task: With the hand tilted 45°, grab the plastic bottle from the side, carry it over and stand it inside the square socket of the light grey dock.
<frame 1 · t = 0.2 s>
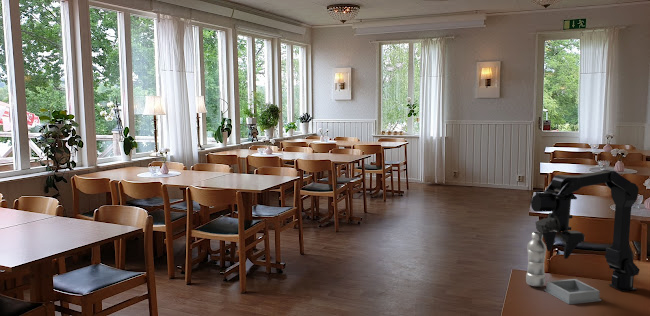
hand: (557, 254, 177), 15 cm above the table, tool pointing down, fingers open, 9 cm apart
bottle dock: (571, 295, 177), on the table
plastic bottle: (535, 286, 186), on the table
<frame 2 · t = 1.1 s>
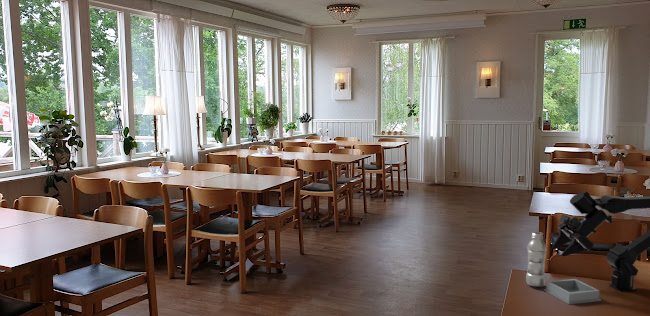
hand: (557, 251, 184), 13 cm above the table, tool tilted 45°, fingers open, 9 cm apart
nothing on the table moved.
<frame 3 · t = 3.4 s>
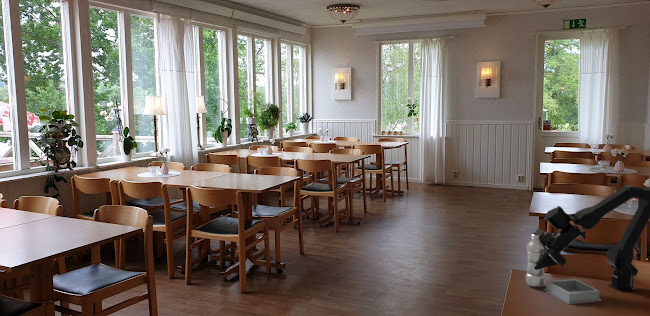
hand: (532, 266, 186), 8 cm above the table, tool tilted 45°, fingers closed on plastic bottle, 6 cm apart
plastic bottle: (535, 286, 186), on the table, touching gripper
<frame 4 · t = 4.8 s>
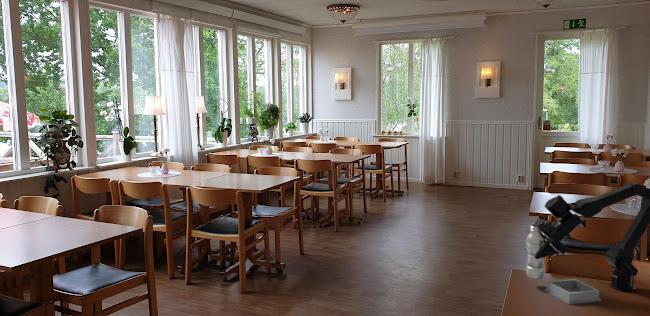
hand: (532, 255, 185), 12 cm above the table, tool tilted 45°, fingers closed on plastic bottle, 6 cm apart
plastic bottle: (535, 278, 186), point 3 cm above the table, touching gripper
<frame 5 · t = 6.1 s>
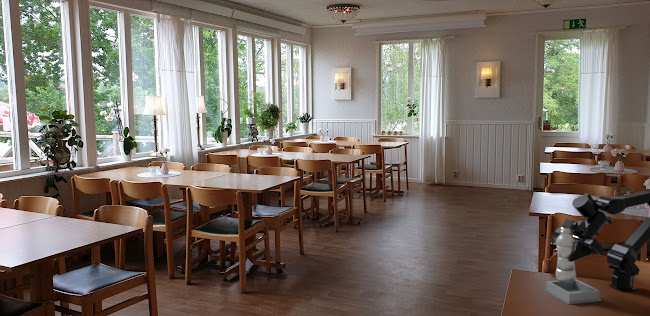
hand: (563, 258, 177), 13 cm above the table, tool tilted 45°, fingers closed on plastic bottle, 6 cm apart
plastic bottle: (565, 282, 178), point 4 cm above the table, touching gripper
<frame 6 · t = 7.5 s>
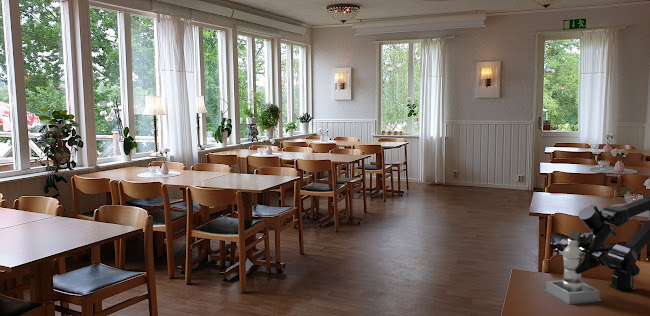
hand: (570, 270, 176), 9 cm above the table, tool tilted 45°, fingers closed on plastic bottle, 5 cm apart
plastic bottle: (572, 294, 177), resting on bottle dock, touching gripper
when the fingers open (9 cm above the table, at t = 7.8 s): plastic bottle stays where it is, resting on bottle dock.
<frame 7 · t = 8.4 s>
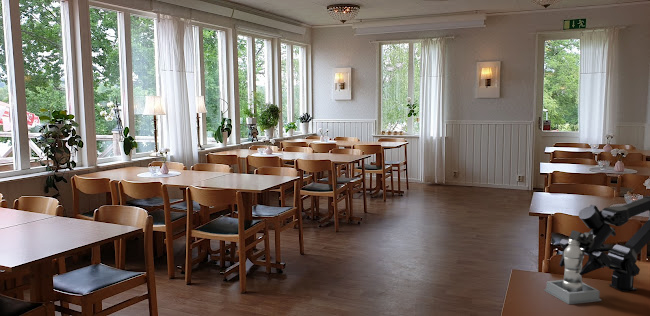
hand: (570, 270, 176), 9 cm above the table, tool tilted 45°, fingers open, 9 cm apart
plastic bottle: (572, 294, 177), resting on bottle dock
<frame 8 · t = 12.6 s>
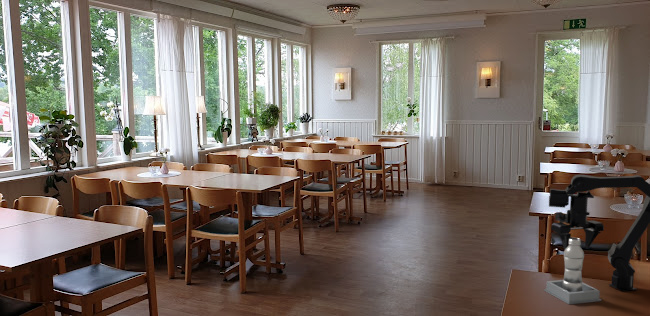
hand: (576, 249, 189), 13 cm above the table, tool pointing down, fingers open, 9 cm apart
nothing on the table moved.
at the end: plastic bottle 0.1 cm off-centre on the bottle dock, point 0.3 cm above the bottle dock's base; plastic bottle tilted 0°; the gripper is holding nothing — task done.
